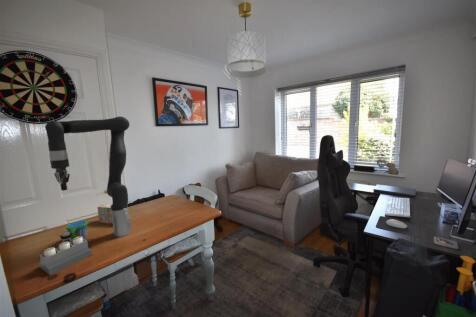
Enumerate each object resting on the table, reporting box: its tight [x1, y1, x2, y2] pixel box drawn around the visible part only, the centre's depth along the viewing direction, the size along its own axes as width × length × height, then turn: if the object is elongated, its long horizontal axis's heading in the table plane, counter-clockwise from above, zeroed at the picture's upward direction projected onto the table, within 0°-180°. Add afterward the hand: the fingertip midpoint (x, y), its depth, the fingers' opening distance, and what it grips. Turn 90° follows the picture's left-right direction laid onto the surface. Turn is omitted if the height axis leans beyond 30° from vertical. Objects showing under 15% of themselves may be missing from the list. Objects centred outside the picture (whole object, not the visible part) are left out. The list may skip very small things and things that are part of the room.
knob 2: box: [73, 236, 83, 245], centre depth 114 cm, size 4×4×6 cm
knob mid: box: [58, 241, 70, 251], centre depth 109 cm, size 4×4×6 cm
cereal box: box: [96, 203, 130, 225], centre depth 155 cm, size 21×6×12 cm, turn 75°
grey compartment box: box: [38, 238, 93, 276], centre depth 109 cm, size 18×12×8 cm, turn 150°
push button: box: [59, 231, 72, 243], centre depth 120 cm, size 7×5×10 cm
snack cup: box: [65, 220, 88, 242], centre depth 131 cm, size 16×10×10 cm
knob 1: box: [43, 247, 56, 258], centre depth 104 cm, size 4×4×6 cm
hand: (64, 190), depth 115 cm, fingers closed
